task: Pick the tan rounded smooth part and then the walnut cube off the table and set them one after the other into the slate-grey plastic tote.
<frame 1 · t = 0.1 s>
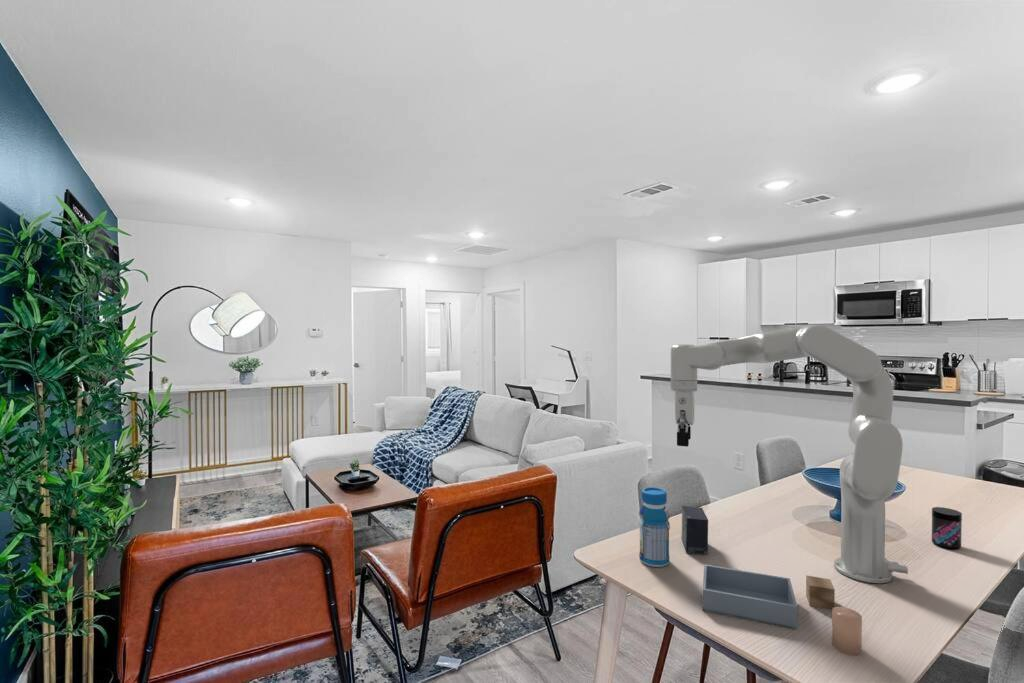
hand: (683, 442, 148), 31 cm above the table, fingers open, 9 cm apart
tote: (747, 604, 117), on the table
small box: (694, 547, 148), on the table
beverage bottle: (654, 561, 139), on the table
walnut cube: (819, 603, 117), on the table
supplement container: (946, 546, 147), on the table
tan rounded smooth part: (846, 647, 101), on the table
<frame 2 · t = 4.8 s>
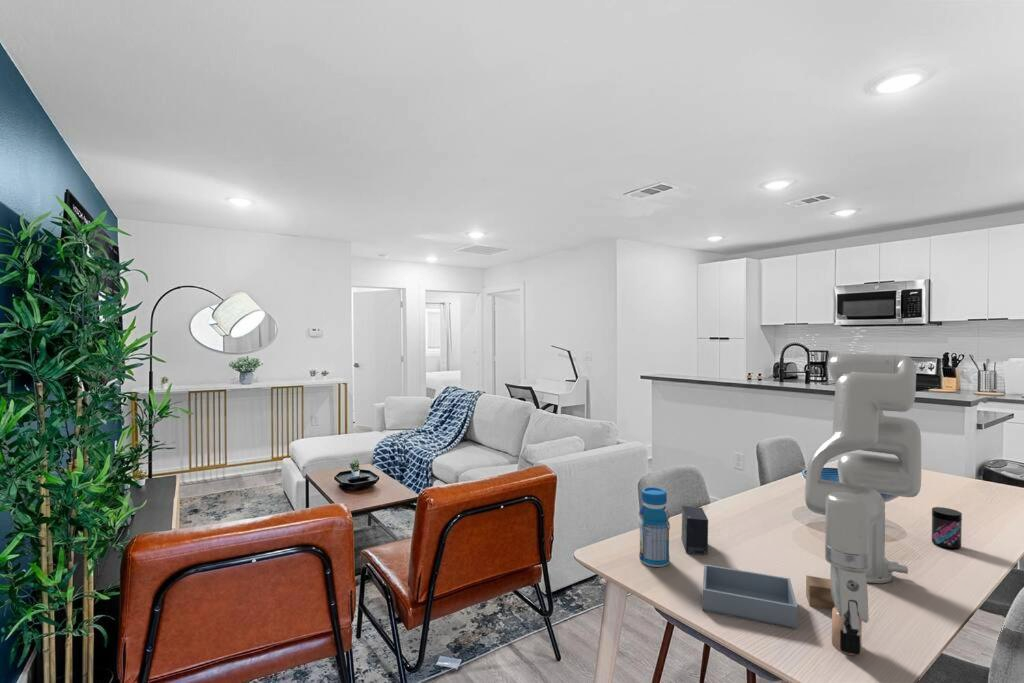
hand: (846, 642, 101), 1 cm above the table, fingers closed on tan rounded smooth part, 5 cm apart
tan rounded smooth part: (846, 647, 101), on the table, touching gripper
everything else where it was.
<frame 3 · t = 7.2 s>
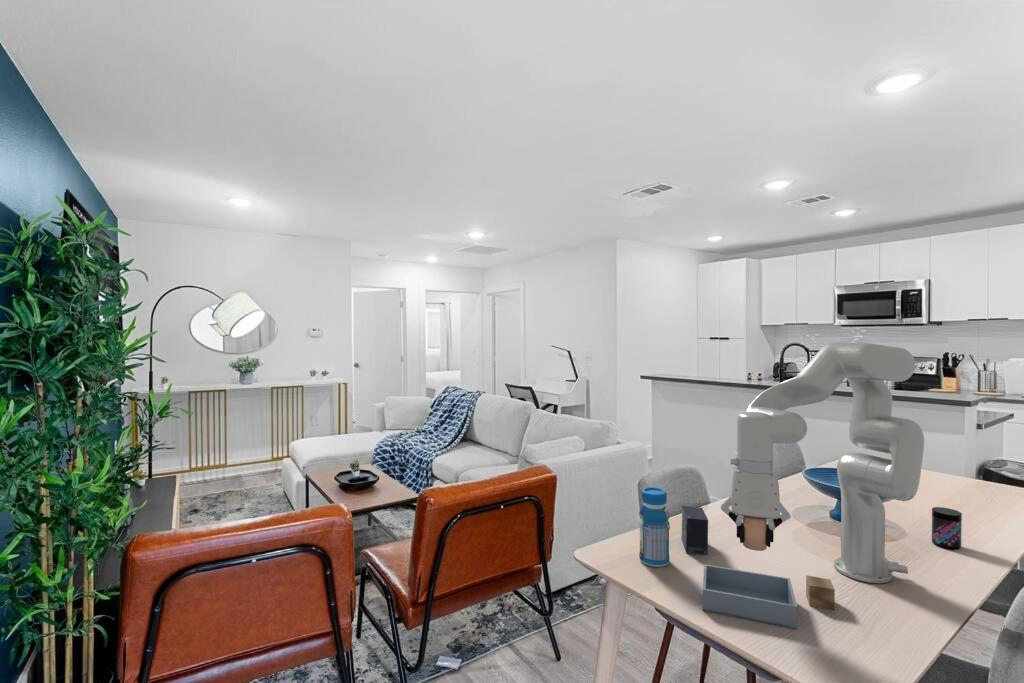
hand: (754, 541, 116), 15 cm above the table, fingers closed on tan rounded smooth part, 5 cm apart
tan rounded smooth part: (754, 546, 116), point 14 cm above the table, touching gripper
everything else where it was.
when the fingers open (3 cm above the table, at t = 9.9 s): tan rounded smooth part drops 1 cm, resting on tote.
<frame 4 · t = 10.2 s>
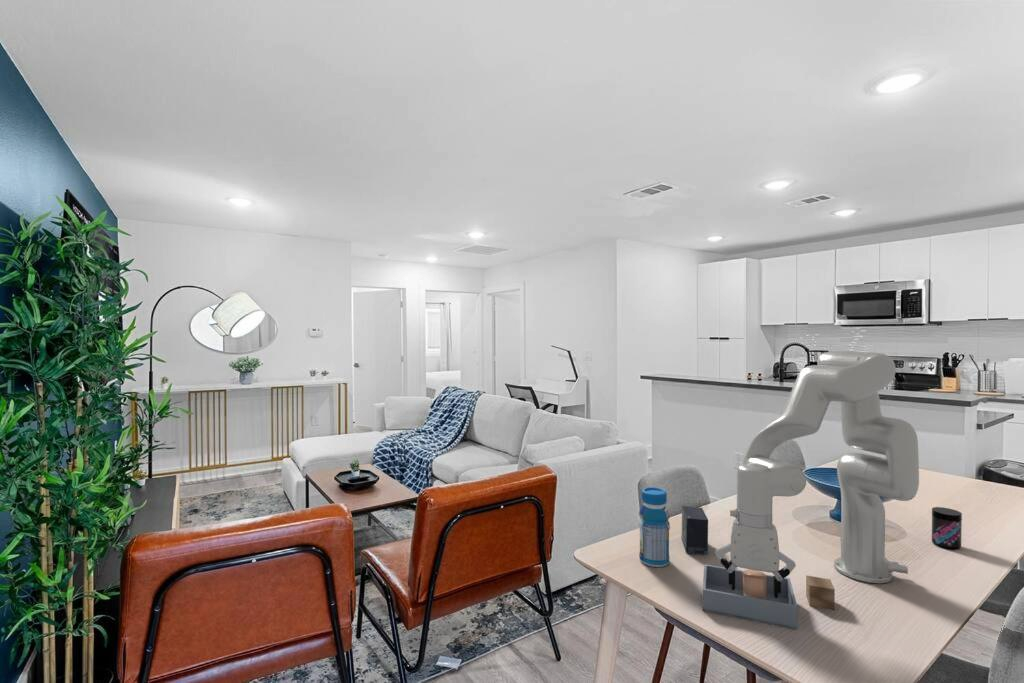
hand: (754, 591, 116), 4 cm above the table, fingers open, 8 cm apart
tan rounded smooth part: (754, 603, 116), point 1 cm above the table, touching tote
everything else where it was.
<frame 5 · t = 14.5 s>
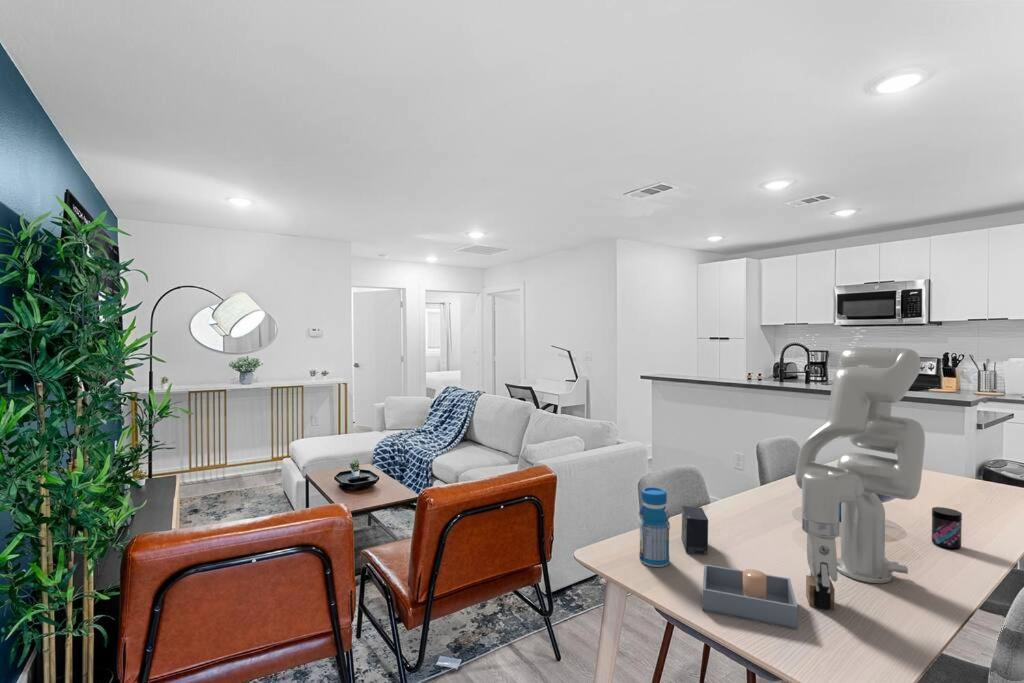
hand: (819, 600, 117), 0 cm above the table, fingers closed on walnut cube, 5 cm apart
walnut cube: (819, 602, 117), on the table, touching gripper
everything else where it was.
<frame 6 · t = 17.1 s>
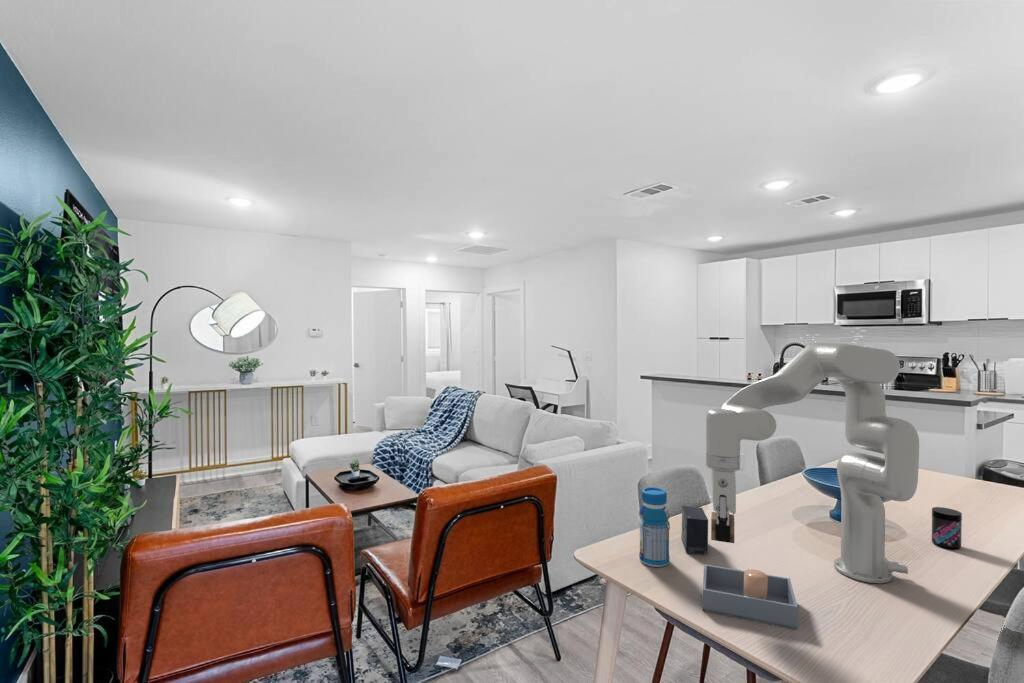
hand: (722, 535, 118), 16 cm above the table, fingers closed on walnut cube, 5 cm apart
walnut cube: (722, 537, 118), point 15 cm above the table, touching gripper
everything else where it was.
when the fingers open (5 cm above the table, at t = 19.5 s): walnut cube drops 4 cm, resting on tote.
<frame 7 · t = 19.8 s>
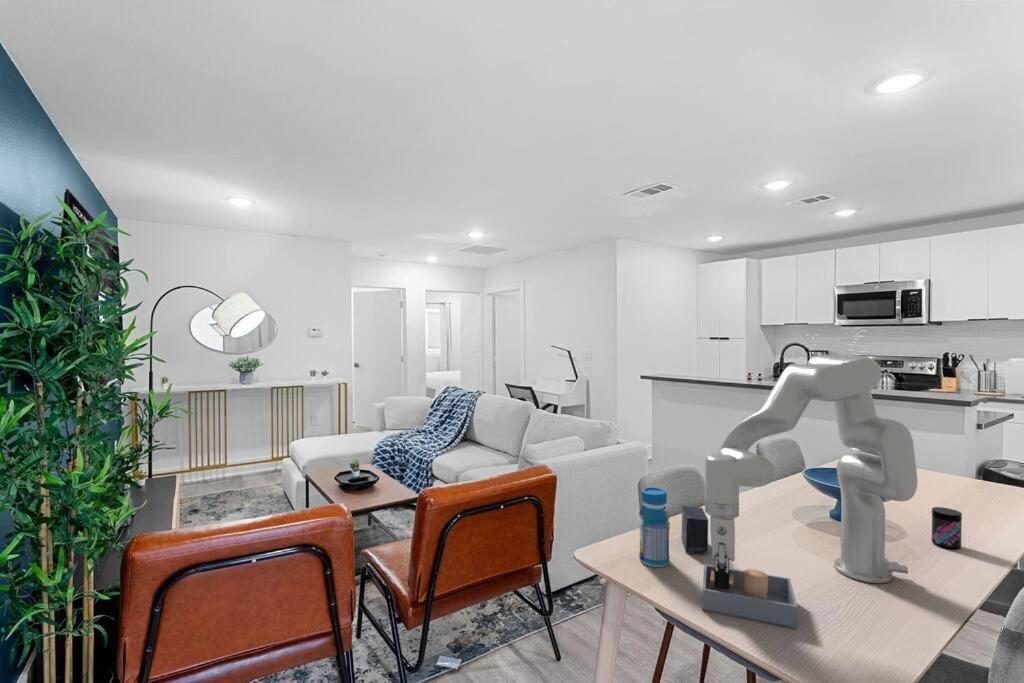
hand: (721, 579, 119), 5 cm above the table, fingers open, 7 cm apart
walnut cube: (722, 597, 119), resting on tote
everything else where it was.
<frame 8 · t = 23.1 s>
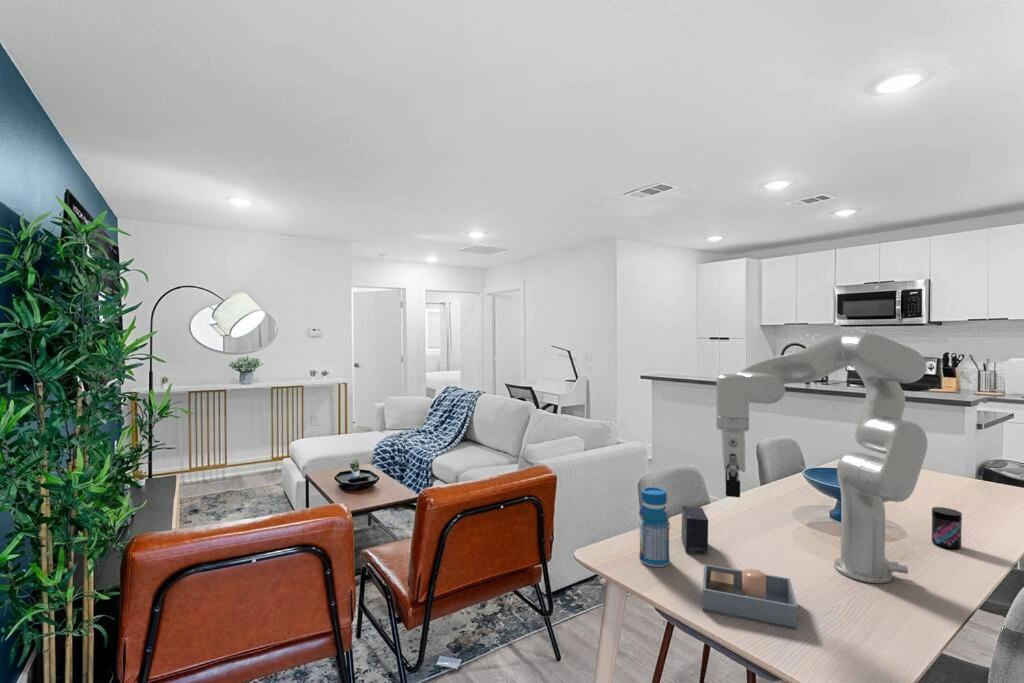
hand: (732, 490, 125), 24 cm above the table, fingers open, 9 cm apart
nothing on the table moved.
at the end: tan rounded smooth part inside the target area on the tote (1.7 cm from its centre), point 0.6 cm above the tote's base; walnut cube inside the target area on the tote (5.4 cm from its centre), point 0.5 cm above the tote's base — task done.
